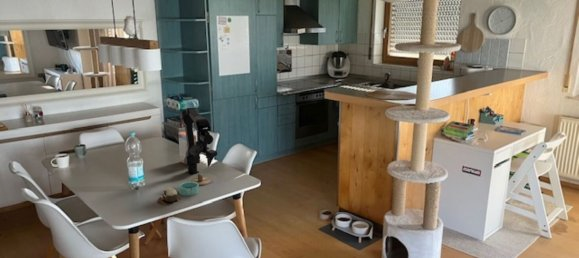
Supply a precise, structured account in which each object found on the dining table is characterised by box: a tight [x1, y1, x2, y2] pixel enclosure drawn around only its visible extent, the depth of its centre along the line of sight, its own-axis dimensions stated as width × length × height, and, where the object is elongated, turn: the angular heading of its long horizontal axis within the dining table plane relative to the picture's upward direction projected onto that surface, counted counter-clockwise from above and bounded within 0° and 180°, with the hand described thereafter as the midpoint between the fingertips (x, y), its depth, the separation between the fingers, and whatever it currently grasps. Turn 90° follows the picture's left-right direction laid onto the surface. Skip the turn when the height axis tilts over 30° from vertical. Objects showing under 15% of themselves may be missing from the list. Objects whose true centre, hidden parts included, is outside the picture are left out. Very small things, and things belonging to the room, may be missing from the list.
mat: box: [186, 180, 215, 188], centre depth 260 cm, size 12×12×1 cm
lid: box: [189, 173, 212, 187], centre depth 259 cm, size 12×12×5 cm
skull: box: [157, 186, 181, 206], centre depth 235 cm, size 12×10×10 cm
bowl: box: [178, 181, 200, 196], centre depth 246 cm, size 11×11×4 cm
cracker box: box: [178, 131, 197, 164], centre depth 290 cm, size 14×6×21 cm, turn 41°
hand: (203, 164), depth 257 cm, fingers open, 9 cm apart
